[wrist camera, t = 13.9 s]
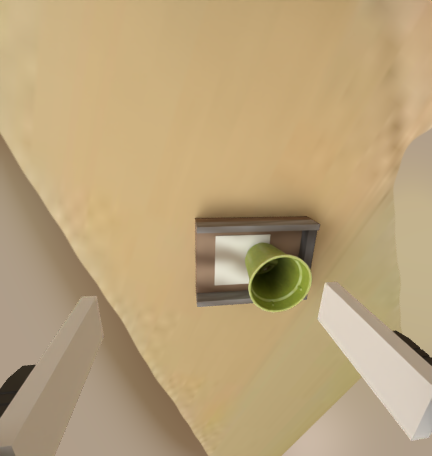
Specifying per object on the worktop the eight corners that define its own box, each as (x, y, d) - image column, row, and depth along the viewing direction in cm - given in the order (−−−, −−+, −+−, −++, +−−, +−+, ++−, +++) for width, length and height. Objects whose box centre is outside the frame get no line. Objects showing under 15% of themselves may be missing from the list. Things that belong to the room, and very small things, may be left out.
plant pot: (273, 222, 39) (296, 242, 31) (295, 263, 43) (321, 291, 34) (225, 251, 40) (236, 278, 32) (251, 289, 43) (266, 322, 35)
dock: (195, 218, 39) (196, 227, 35) (306, 216, 42) (320, 224, 38) (195, 291, 44) (197, 306, 40) (295, 285, 47) (306, 299, 43)
